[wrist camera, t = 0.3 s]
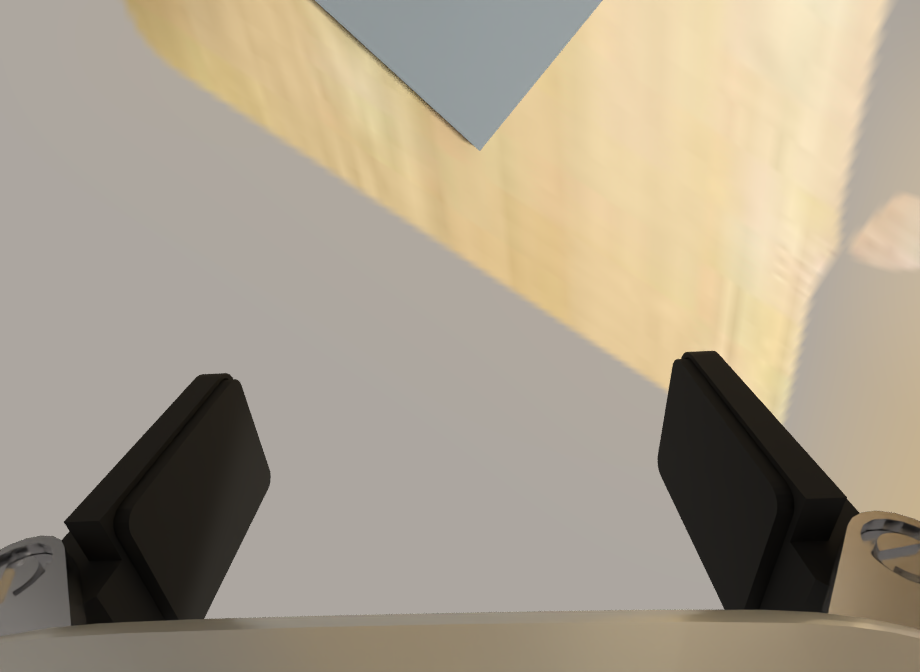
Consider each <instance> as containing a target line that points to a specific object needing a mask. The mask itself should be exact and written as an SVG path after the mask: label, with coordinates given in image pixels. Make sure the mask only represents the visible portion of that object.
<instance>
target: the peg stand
mask: <svg viewBox="0 0 920 672" xmlns="http://www.w3.org/2000/svg"><path fill="white" fill-rule="evenodd" d="M315 1H316V2H317V3H318V4H319V5H320V6H322V7H323V8H324V9H325V10H326V11H327V12H328V13H329V14H330V15H331V16H332V17H334V18H335V19H336V20H337V21H338V22H339V23H340V24H341V25H342V26H343V27H345V28H346V29H347V30H348V31H349V32H350V33H351V34H352V35H353V36H354V37H355V38H357V39H358V40H359V41H360V42H361V43H362V44H363V45H364V46H365V47H366V48H368V49H369V50H370V51H371V52H372V53H373V54H374V55H375V56H376V57H377V58H378V59H380V60H381V61H382V62H383V63H384V64H385V65H386V66H387V67H388V68H389V69H391V70H392V71H393V72H394V73H395V74H396V75H397V76H398V77H399V78H400V79H401V80H403V81H404V82H405V83H406V84H407V85H408V86H409V87H410V88H411V89H412V90H414V91H415V92H416V93H417V94H418V95H419V96H420V97H421V98H422V99H423V100H424V101H426V102H427V103H428V104H429V105H430V106H431V107H432V108H433V109H434V110H435V111H437V112H438V113H439V114H440V115H441V116H442V117H443V118H444V119H445V120H446V121H447V122H449V123H450V124H451V125H452V126H453V127H454V128H455V129H456V130H457V131H458V132H460V133H461V134H462V135H463V136H464V137H465V138H466V139H467V140H468V141H469V142H470V143H472V144H473V145H474V146H475V147H476V148H477V149H478V150H479V151H480V150H481V149H482V148H483V146H484V145H485V144H486V143H487V141H488V140H489V139H490V138H491V137H492V135H493V134H494V133H495V132H496V130H497V129H498V128H499V127H500V126H501V124H502V123H503V122H504V121H505V119H506V118H507V117H508V116H509V114H510V113H511V112H512V111H513V110H514V108H515V107H516V106H517V105H518V103H519V102H520V101H521V100H522V99H523V97H524V96H525V95H526V94H527V92H528V91H529V90H530V89H531V87H532V86H533V85H534V84H535V83H536V81H537V80H538V79H539V78H540V76H541V75H542V74H543V73H544V72H545V70H546V69H547V68H548V67H549V65H550V64H551V63H552V62H553V60H554V59H555V58H556V57H557V56H558V54H559V53H560V52H561V51H562V49H563V48H564V47H565V46H566V44H567V43H568V42H569V41H570V40H571V38H572V37H573V36H574V35H575V33H576V32H577V31H578V30H579V29H580V27H581V26H582V25H583V24H584V22H585V21H586V20H587V19H588V17H589V16H590V15H591V14H592V13H593V11H594V10H595V9H596V8H597V6H598V5H599V4H600V3H601V2H602V0H315Z"/></svg>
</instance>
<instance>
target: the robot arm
mask: <svg viewBox="0 0 920 672" xmlns="http://www.w3.org/2000/svg"><path fill="white" fill-rule="evenodd" d="M658 468H659V472H660V475H661V477H662V479H663V481H664V483H665V485H666V487H667V490H668V492H669V494H670V496H671V498H672V500H673V502H674V504H675V506H676V508H677V511H678V513H679V515H680V517H681V519H682V521H683V523H684V525H685V527H686V529H687V532H688V534H689V535H690V538H691V540H692V542H693V544H694V546H695V548H696V550H697V553H698V555H699V557H700V559H701V561H702V563H703V565H704V567H705V569H706V571H707V573H708V575H709V578H710V580H711V582H712V584H713V586H714V588H715V590H716V592H717V594H718V597H719V599H720V601H721V603H722V605H723V607H724V609H725V610H607V611H606V610H604V611H544V612H543V611H542V612H541V611H538V612H486V613H485V612H483V613H482V612H481V613H432V614H386V615H339V616H304V617H303V616H300V617H267V618H266V617H262V618H225V619H204V618H205V616H206V614H207V611H208V609H209V607H210V606H211V604H212V601H213V599H214V597H215V595H216V593H217V591H218V589H219V587H220V585H221V583H222V581H223V579H224V577H225V575H226V573H227V571H228V569H229V567H230V565H231V563H232V561H233V559H234V557H235V555H236V553H237V550H238V549H239V547H240V545H241V542H242V541H243V539H244V537H245V535H246V533H247V530H248V528H249V526H250V524H251V522H252V520H253V518H254V516H255V514H256V512H257V510H258V508H259V506H260V504H261V502H262V500H263V498H264V496H265V494H266V492H267V490H268V488H269V485H270V470H269V467H268V464H267V461H266V458H265V455H264V452H263V449H262V446H261V443H260V440H259V437H258V434H257V431H256V428H255V425H254V422H253V419H252V416H251V413H250V410H249V407H248V404H247V401H246V398H245V395H244V392H243V389H242V386H241V384H240V382H239V381H238V380H236V379H234V380H233V378H232V377H231V376H230V374H227V373H223V374H202V375H199V376H198V377H196V378H195V380H194V381H193V382H192V383H191V384H190V385H189V386H188V387H187V388H186V389H185V390H184V391H183V393H182V394H181V395H180V396H179V397H178V398H177V399H176V400H175V401H174V402H173V404H171V406H170V407H169V408H168V409H167V410H166V411H165V412H164V413H163V415H162V416H160V418H159V419H158V420H157V421H156V422H155V423H154V424H153V425H152V426H151V427H150V428H149V430H148V431H147V432H146V433H145V434H144V435H143V436H142V437H141V439H139V440H138V442H137V443H136V444H135V445H134V446H133V447H132V448H131V449H130V450H129V451H128V453H127V454H126V455H125V456H124V457H123V458H122V459H121V460H120V461H119V462H118V464H117V465H116V466H115V467H114V468H113V469H112V470H111V471H110V472H109V473H108V475H107V476H106V477H105V478H104V479H103V480H102V481H101V482H100V483H99V484H98V485H97V486H96V488H95V489H94V490H93V491H92V492H91V493H90V494H89V495H88V496H87V497H86V498H85V499H84V501H83V502H82V503H81V504H80V505H79V506H78V507H77V509H75V511H73V513H72V514H71V515H70V516H69V517H68V518H67V519H66V520H65V521H64V523H65V524H66V526H67V528H68V529H69V531H70V532H69V533H68V534H67V535H66V536H65V537H64V538H63V540H62V541H61V540H60V539H58V538H56V537H54V536H37V537H32V538H27V539H24V540H21V541H18V542H16V543H13V544H10V545H8V546H7V547H4V548H2V549H1V550H0V672H920V521H918V520H916V519H913V518H910V517H907V516H903V515H900V514H897V513H892V512H884V511H868V512H862V513H859V512H858V511H857V510H856V509H855V507H854V506H853V505H852V504H851V503H850V502H849V501H848V500H847V497H846V496H845V495H844V494H843V492H842V491H841V490H840V489H839V488H838V487H837V486H836V485H835V483H834V482H833V481H832V480H831V479H830V478H829V477H828V476H827V475H826V473H825V472H824V471H823V470H822V469H821V468H820V467H819V466H818V465H817V463H816V462H815V461H814V460H813V459H812V458H811V457H810V456H809V455H808V453H807V452H806V451H805V450H804V449H803V448H802V447H801V446H800V444H799V443H798V442H797V441H796V440H795V439H794V438H793V437H792V435H791V434H790V433H789V432H788V431H787V430H786V429H785V428H784V426H783V425H782V424H781V423H780V422H779V421H778V420H777V419H776V418H775V416H774V415H773V414H772V413H771V412H770V411H769V410H768V409H767V408H766V406H765V405H764V404H763V403H762V402H761V401H760V400H759V399H758V397H757V396H756V395H755V394H754V393H753V392H752V391H751V390H750V389H749V387H748V386H747V385H746V384H745V383H744V382H743V381H742V380H741V378H740V377H739V376H738V375H737V374H736V373H735V372H734V371H733V370H732V368H731V367H730V366H729V365H728V364H727V363H726V362H725V361H724V359H723V358H722V357H721V356H720V355H719V354H718V353H717V352H716V351H699V352H686V353H684V354H683V356H682V358H681V359H676V360H675V361H674V363H673V367H672V373H671V379H670V385H669V391H668V397H667V404H666V410H665V416H664V422H663V428H662V434H661V440H660V446H659V452H658Z"/></svg>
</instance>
